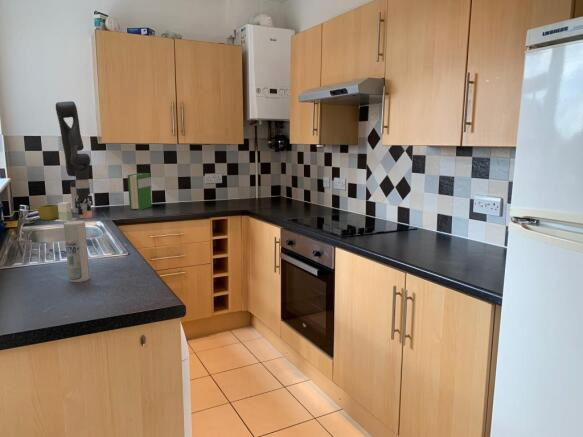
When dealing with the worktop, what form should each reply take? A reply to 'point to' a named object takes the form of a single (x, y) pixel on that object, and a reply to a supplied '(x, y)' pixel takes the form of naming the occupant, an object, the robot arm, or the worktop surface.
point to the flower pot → (48, 212)
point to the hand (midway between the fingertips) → (85, 213)
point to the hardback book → (139, 191)
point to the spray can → (76, 251)
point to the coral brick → (86, 214)
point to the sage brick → (65, 215)
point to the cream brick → (64, 207)
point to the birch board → (66, 220)
